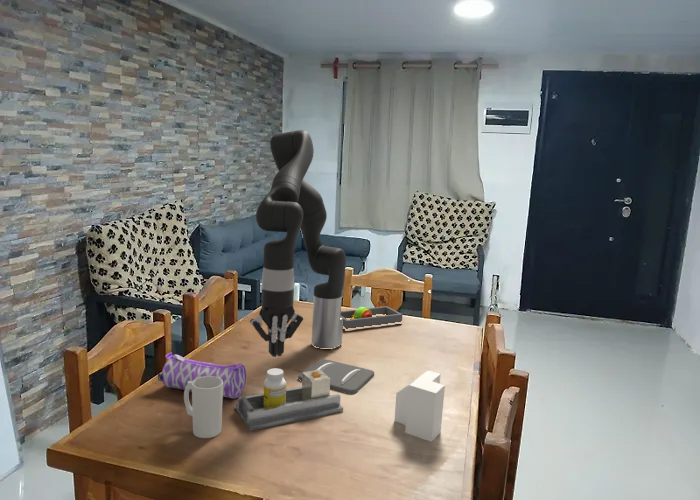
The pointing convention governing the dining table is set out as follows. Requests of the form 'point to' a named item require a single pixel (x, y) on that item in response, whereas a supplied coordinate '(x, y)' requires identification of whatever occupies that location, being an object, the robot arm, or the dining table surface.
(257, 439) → the dining table surface
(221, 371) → the pencil case
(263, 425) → the rail tray
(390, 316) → the gray rectangular tray
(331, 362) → the grey flat block
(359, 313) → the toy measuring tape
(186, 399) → the mug
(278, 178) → the robot arm
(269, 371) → the supplement bottle
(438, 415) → the white notched block
